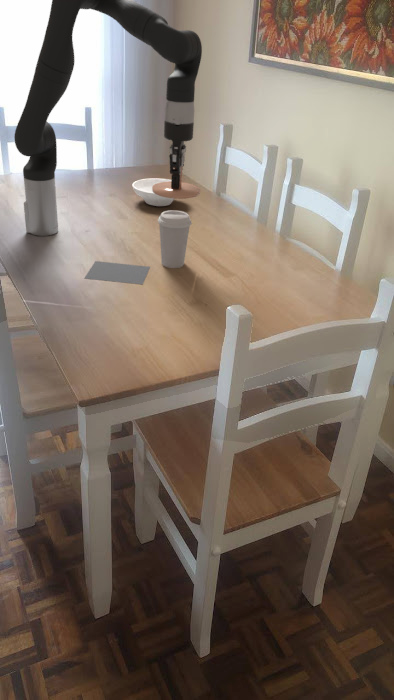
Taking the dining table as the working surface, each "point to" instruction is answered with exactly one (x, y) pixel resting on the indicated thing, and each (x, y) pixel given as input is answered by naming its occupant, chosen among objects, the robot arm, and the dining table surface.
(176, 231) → the coffee cup
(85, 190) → the dining table surface
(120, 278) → the mat
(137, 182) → the bowl
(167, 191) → the lid
